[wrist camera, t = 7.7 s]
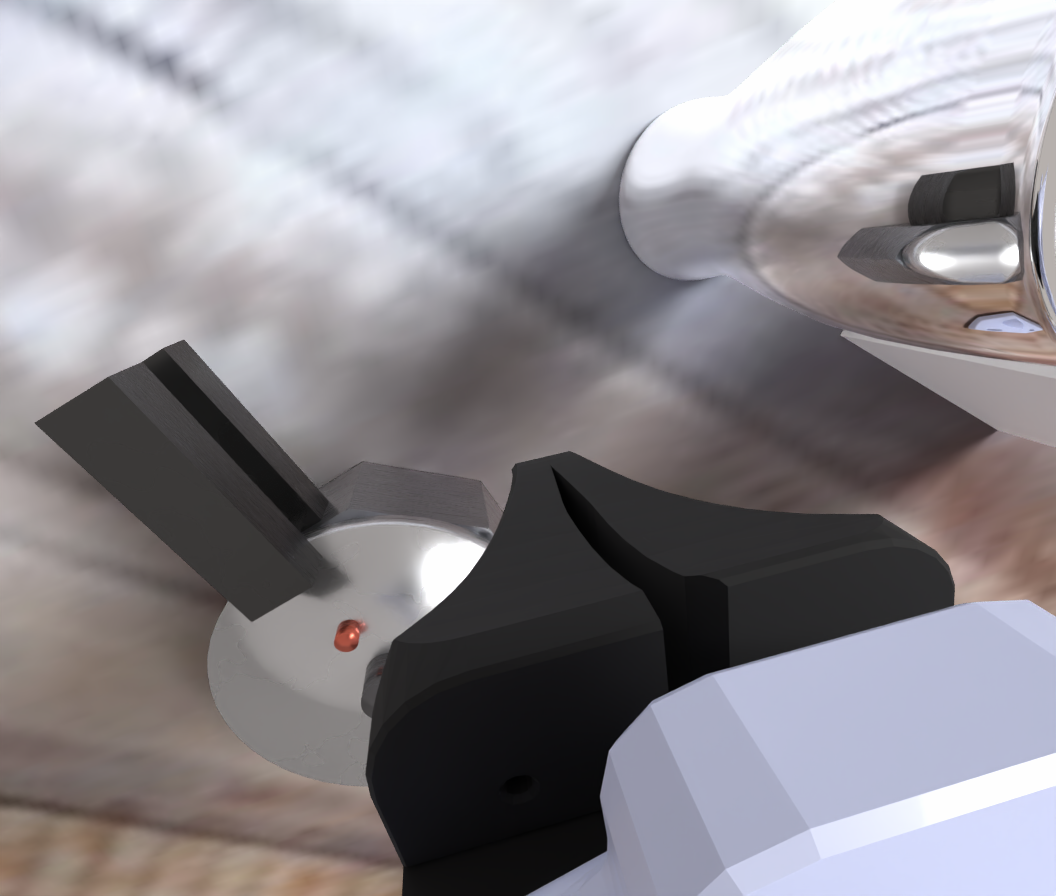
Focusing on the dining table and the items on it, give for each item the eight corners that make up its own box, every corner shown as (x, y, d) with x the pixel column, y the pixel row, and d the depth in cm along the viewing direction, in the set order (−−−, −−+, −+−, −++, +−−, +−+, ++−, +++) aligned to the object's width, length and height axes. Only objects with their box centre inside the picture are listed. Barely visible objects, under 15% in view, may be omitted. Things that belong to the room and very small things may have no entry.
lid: (599, 673, 22) (616, 721, 20) (355, 808, 23) (347, 869, 21) (307, 261, 14) (284, 266, 12) (-51, 484, 15) (-132, 527, 13)
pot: (589, 633, 27) (614, 696, 23) (395, 745, 28) (390, 823, 24) (320, 257, 18) (292, 262, 15) (47, 434, 19) (-45, 482, 15)
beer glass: (593, 283, 20) (930, 387, 6) (622, 70, 18) (1276, -502, 4) (754, 298, 21) (1317, 408, 8) (802, 101, 19) (1765, -247, 5)
